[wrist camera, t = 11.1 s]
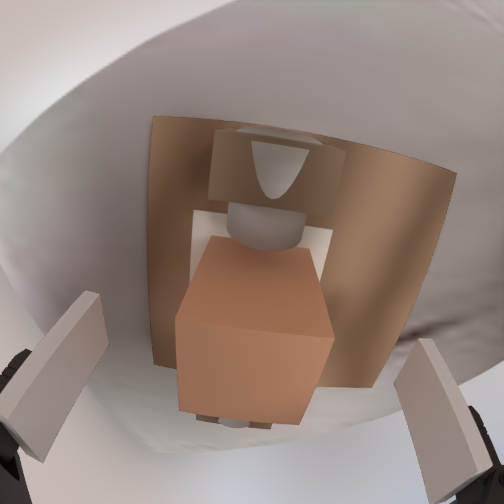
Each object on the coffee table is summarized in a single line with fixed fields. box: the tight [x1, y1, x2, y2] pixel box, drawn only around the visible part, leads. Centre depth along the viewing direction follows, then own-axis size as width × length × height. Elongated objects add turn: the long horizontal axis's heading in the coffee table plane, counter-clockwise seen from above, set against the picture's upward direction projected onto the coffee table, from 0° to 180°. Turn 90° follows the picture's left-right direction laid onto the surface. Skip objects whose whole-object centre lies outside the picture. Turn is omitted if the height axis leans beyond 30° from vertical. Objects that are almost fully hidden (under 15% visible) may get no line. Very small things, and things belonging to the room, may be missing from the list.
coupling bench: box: [147, 116, 457, 429], centre depth 15 cm, size 16×16×6 cm
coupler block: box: [175, 235, 335, 425], centre depth 13 cm, size 5×5×7 cm
